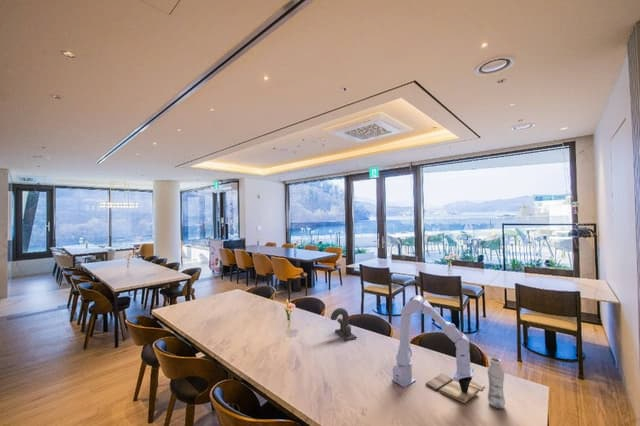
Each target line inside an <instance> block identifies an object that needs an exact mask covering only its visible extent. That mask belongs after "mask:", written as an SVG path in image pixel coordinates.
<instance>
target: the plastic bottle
mask: <svg viewBox="0 0 640 426" xmlns="http://www.w3.org/2000/svg"><path fill="white" fill-rule="evenodd" d="M489 363H490V365H489V366H488V367H487V369H486V370H487V371H486V373H487V377H488V393H487V402H488V403H489V404H490V406H492V407H493V408H496V409H499V410H500V409H503V408H504V407H505V406H506V400H505V395H504V394H505V393H504V381H505V371H504V370H503V369H502V368H501V360H500V359H498V358H494V357H491V358H490V362H489Z"/></svg>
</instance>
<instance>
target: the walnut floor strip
mask: <svg viewBox="0 0 640 426" xmlns="http://www.w3.org/2000/svg"><path fill="white" fill-rule="evenodd" d="M451 381H453V378H452V377H450V376H448V375H446V374H443V373H440V374H439V375H436V376H435V377H433V378H431V379H430V380H428V381H426V382H425V386H426V387H428V388H430V389H432V390H434V391H435V392H439V389H440V388H442V387H443V386H445V385H446V384H448V383H449V382H451Z"/></svg>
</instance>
